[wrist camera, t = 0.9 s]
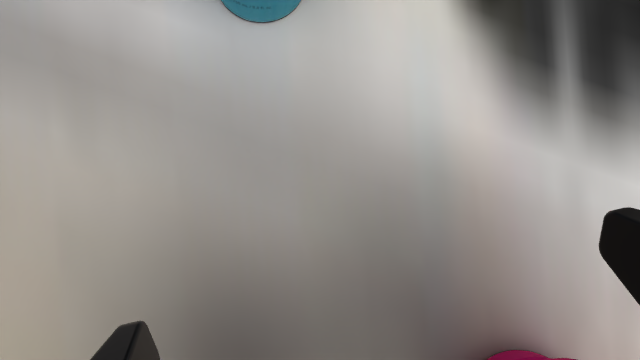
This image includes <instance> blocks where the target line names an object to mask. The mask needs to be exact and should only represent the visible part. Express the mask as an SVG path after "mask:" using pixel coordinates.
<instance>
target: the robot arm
mask: <svg viewBox="0 0 640 360" xmlns="http://www.w3.org/2000/svg"><path fill="white" fill-rule="evenodd" d="M599 251H600V254H601V256H602V257H603V259H604V260H605V261H606V263H607V264H608V265H609V267H610V268H611V269H612V270H613V272H614V273H615V274H616V276H617V277H618V278H619V279H620V281H621V282H622V283H623V285H624V286H625V287H626V288H627V290H628V291H629V292H630V294H631V295H632V296H633V297H634V299H635V300H636V301H637V303H638V304H639V305H640V210H638V209H634V208H621V209H617V210H613V211H609V212H608V213H607V214H606V215H605V216H604V220H603V225H602V230H601V236H600V241H599ZM90 360H160V357H159V353H158V350H157V348H156V345H155V343H154V341H153V338H152V336H151V333H150V331H149V328H148V326H147V325H146V323H145V322H143V321H137V322H132V323H128V324H124V325H121V326H119V327H118V328H117V329H116V330H115V331H114V332H113V334H112V335H111V336H110V337H109V338H108V339H107V341H106V342H105V343H104V344H103V345H102V346H101V348H100V349H99V350H98V351H97V352H96V353H95V355H94V356H93V357H92V358H91V359H90Z"/></svg>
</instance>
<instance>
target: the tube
mask: <svg viewBox="0 0 640 360" xmlns="http://www.w3.org/2000/svg"><path fill="white" fill-rule="evenodd" d="M221 1H222V2H223V3H224V5H225V6H226V7H227V8H228V9H229V10H230V11H232V12H233V13H234V14H236V15H237V16H239V17H241V18H243V19H246V20H248V21H255V22H268V21H274V20H278V19H280V18H283V17H285V16H286V15H288V14H289V13H290V12H292V11H293V10H294V9H295V8H296V7H297V6H298V4H299V3H300V1H301V0H221Z"/></svg>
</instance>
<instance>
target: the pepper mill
mask: <svg viewBox="0 0 640 360" xmlns="http://www.w3.org/2000/svg"><path fill="white" fill-rule="evenodd" d="M487 360H576V359H569V358H554V359H550V358H547V357H545V356H543V355H540V354H537V353H534V352H530V351H522V350H511V351H504V352H501V353H498V354H495V355H493V356H492V357H490V358H488V359H487Z"/></svg>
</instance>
